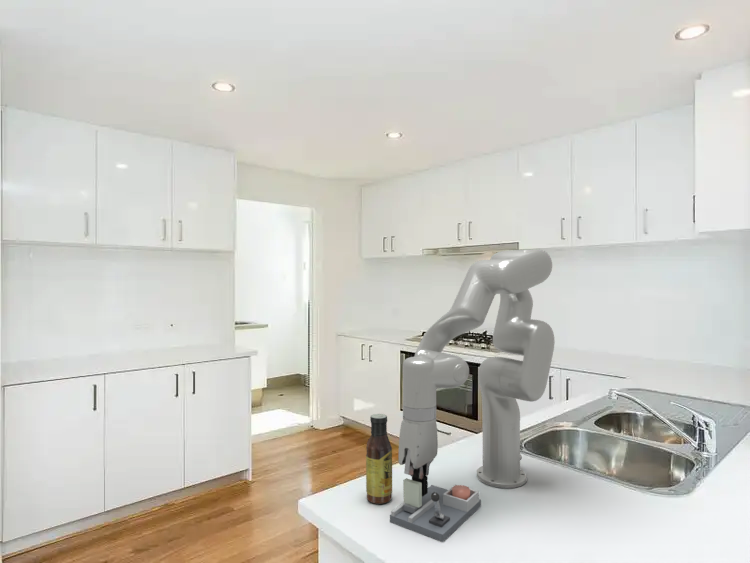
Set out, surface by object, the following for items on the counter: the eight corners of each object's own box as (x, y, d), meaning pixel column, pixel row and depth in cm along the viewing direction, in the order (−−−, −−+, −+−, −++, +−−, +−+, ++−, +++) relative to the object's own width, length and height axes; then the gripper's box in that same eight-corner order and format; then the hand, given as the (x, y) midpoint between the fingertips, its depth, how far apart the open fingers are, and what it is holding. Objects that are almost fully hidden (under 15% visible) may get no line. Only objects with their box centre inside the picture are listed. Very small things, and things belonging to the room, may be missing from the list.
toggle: (437, 513, 101) (432, 489, 99) (445, 516, 99) (440, 491, 97) (433, 519, 99) (428, 495, 97) (442, 522, 98) (436, 497, 96)
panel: (431, 490, 116) (431, 475, 116) (480, 506, 108) (480, 489, 108) (389, 521, 102) (389, 504, 102) (442, 542, 94) (442, 523, 94)
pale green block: (408, 504, 106) (408, 476, 106) (423, 509, 104) (423, 481, 104) (401, 509, 104) (401, 481, 104) (416, 514, 101) (416, 486, 101)
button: (457, 496, 110) (457, 483, 110) (473, 501, 107) (473, 488, 107) (449, 503, 107) (449, 489, 107) (465, 508, 104) (465, 494, 104)
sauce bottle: (390, 506, 109) (389, 421, 108) (363, 504, 110) (362, 419, 110) (394, 493, 115) (393, 412, 115) (369, 491, 116) (368, 411, 116)
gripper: (422, 402, 114) (422, 477, 114) (386, 417, 102) (386, 501, 103) (450, 407, 110) (450, 486, 110) (415, 424, 98) (415, 511, 98)
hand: (419, 493), depth 106 cm, fingers closed
